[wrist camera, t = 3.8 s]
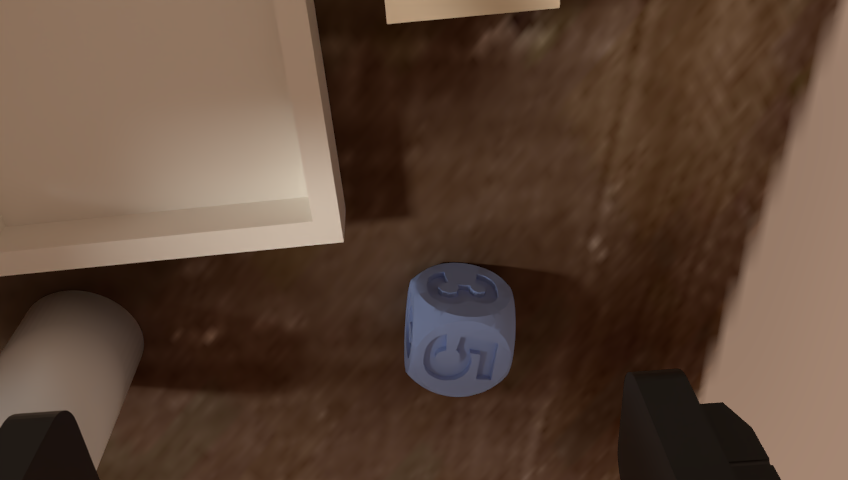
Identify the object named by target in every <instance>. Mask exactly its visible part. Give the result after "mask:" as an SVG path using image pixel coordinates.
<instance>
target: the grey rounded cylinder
mask: <svg viewBox="0 0 848 480" xmlns="http://www.w3.org/2000/svg"><path fill="white" fill-rule="evenodd" d="M143 350H144V338H143V334H142V331H141V329H140V326H139V325H138V323H137V321H136V320H135V319H134V317H133V316H132V315H131V314H130V313H129V312H128V311H127V310H126V309H125V308H123V307H122V306H121V305H119V304H118V303H116V302H114V301H113V300H111V299H109V298H107V297H104V296H101V295H99V294H95V293H91V292H86V291H77V290H69V291H60V292H56V293H52V294H49V295H47V296H45V297H43V298H41V299H39V300H38V301H37V302H36V303H34V304H33V305H32V306H31V308H30V309H29V310H28V312H27V313H26V315H25V316H24V318H23V319H22V321H21V323H20V324H19V326H18V327H17V329H16V330H15V332H14V333H13V335H12V336H11V338H10V340H9V341H8V343H7V344H6V346H5V347H4V349H3V350H2V352H1V353H0V427H1V426H2V424H3V423H4V421H5V420H6V419H7V418H8V417H9V416H11V415H13V414H19V413H33V412H48V411H62V410H67V411H69V412H71V413H72V414H73V416H74V417H75V419H76V421H77V424H78V426H79V429H80V431H81V434H82V436H83V439H84V441H85V444H86V446H87V449H88V451H89V454H90V457H91V459H92V462H93V464H94V467H95V469H96V470H97V468H98V465H99V462H100V460H101V457H102V455H103V452H104V450H105V447H106V445H107V442H108V440H109V437H110V435H111V432H112V430H113V427H114V425H115V422H116V420H117V417H118V415H119V412H120V410H121V407H122V405H123V402H124V400H125V397H126V395H127V392H128V390H129V387H130V385H131V382H132V380H133V377H134V375H135V372H136V370H137V367H138V365H139V362H140V360H141V357H142V354H143Z"/></svg>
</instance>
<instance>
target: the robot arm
mask: <svg viewBox="0 0 848 480" xmlns="http://www.w3.org/2000/svg"><path fill="white" fill-rule="evenodd" d="M618 465H619V473H620V479H621V480H781V479H780V477H779V475H778V474H777V472H776V470H775V468H774V466H773V465H770V463H769V457H768V456H767V454H766V452H765V450H764V448H763V447H762V445H761V443H760V441H759V439H758V438H757V436H756V434H755V432H754V431H753V429H752V428H751V427H750V426H749V425H748V424H747V423H746V422H745V421H743V420H742V419H741V418H740V417H739V416H738V415H737V414H735V413H734V412H733V411H732V410H731V409H730V408H728V407H727V406H726V405H725V404H724V403H723V402H722V403H708V404H700V403H699V401H698V399H697V397H696V395H695V393H694V391H693V389H692V387H691V385H690V383H689V381H688V379H687V377H686V375H685V374H684V372H683V371H682V370H681V369H666V370H652V371H638V372H628V373H627V374H626V376H625V380H624V388H623V399H622V409H621V420H620V430H619V440H618ZM0 480H100V479H99V477H98V474H97V472H96V469H95V467H94V464H93V462H92V459H91V457H90V454H89V451H88V449H87V446H86V444H85V441H84V439H83V436H82V434H81V431H80V429H79V426H78V424H77V421H76V419H75V417H74V416H73V414H72V413H71V412H69V411H67V410H62V411H48V412H33V413H19V414H13V415H11V416H9V417H8V418H7V419H6V420H5V421H4V423H3V424H2V426H1V427H0Z"/></svg>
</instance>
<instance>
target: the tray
mask: <svg viewBox="0 0 848 480" xmlns="http://www.w3.org/2000/svg"><path fill="white" fill-rule="evenodd" d="M345 215H346V208H345V201H344V195H343V188H342V182H341V175H340V169H339V162H338V156H337V149H336V143H335V136H334V129H333V123H332V116H331V110H330V103H329V97H328V90H327V84H326V77H325V71H324V64H323V58H322V51H321V45H320V38H319V32H318V25H317V19H316V12H315V6H314V0H0V276H9V275H19V274H29V273H39V272H49V271H59V270H69V269H79V268H89V267H99V266H109V265H119V264H129V263H139V262H149V261H159V260H169V259H179V258H189V257H199V256H209V255H219V254H229V253H239V252H249V251H259V250H269V249H280V248H290V247H300V246H310V245H320V244H330V243H340V242H344V231H345Z"/></svg>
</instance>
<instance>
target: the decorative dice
mask: <svg viewBox="0 0 848 480" xmlns="http://www.w3.org/2000/svg"><path fill="white" fill-rule="evenodd" d="M515 331H516V317H515V304H514V297H513V293H512V290H511V288H510V287H509V285H508V284H507V283H506V282H505V281H504V280H503V279H502V278H501V277H499V276H498V275H496V274H495V273H493V272H491V271H489V270H487V269H485V268H482V267H479V266H476V265H471V264H465V263H444V264H439V265H435V266H432V267H430V268H428V269H426V270H424V271H422V272H421V273H419V274H418V275H417V276H415V277H414V278H413V279H412V280H411V281H410V285H409V290H408V297H407V306H406V318H405V338H404V360H405V370H406V373H407V374H408V375H409V376H410V377H411V378H412V379H413V380H414V381H415V382H416V383H418V384H419V385H421V386H422V387H424V388H426V389H427V390H429V391H432V392H434V393H437V394H440V395H445V396H451V397H465V396H471V395H475V394H478V393H482V392H484V391H486V390H488V389H490V388H492V387H494V386H495V385H497V384H498V383H499V382H501V381H502V380H503V379H504V378H505V377H506V376H507V374H508V373H509V370H510V367H511V364H512V359H513V353H514V345H515Z"/></svg>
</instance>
